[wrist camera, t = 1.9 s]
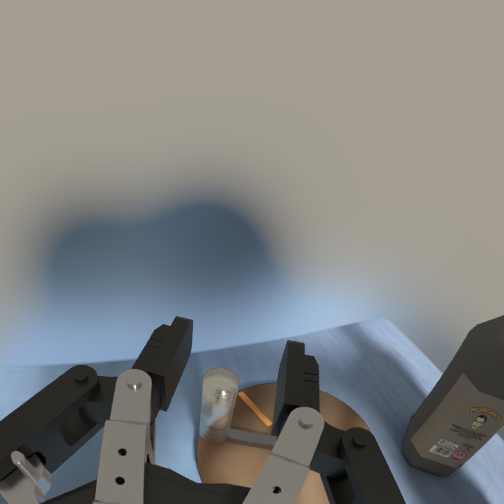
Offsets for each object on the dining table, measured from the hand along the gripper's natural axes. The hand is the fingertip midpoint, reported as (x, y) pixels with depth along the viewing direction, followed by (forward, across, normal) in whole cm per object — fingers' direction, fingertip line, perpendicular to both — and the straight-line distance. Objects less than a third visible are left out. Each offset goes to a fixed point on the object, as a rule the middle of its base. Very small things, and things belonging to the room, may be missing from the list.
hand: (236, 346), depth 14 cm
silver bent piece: (+7, -3, +20) cm, 22 cm away
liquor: (+9, -26, +22) cm, 36 cm away
